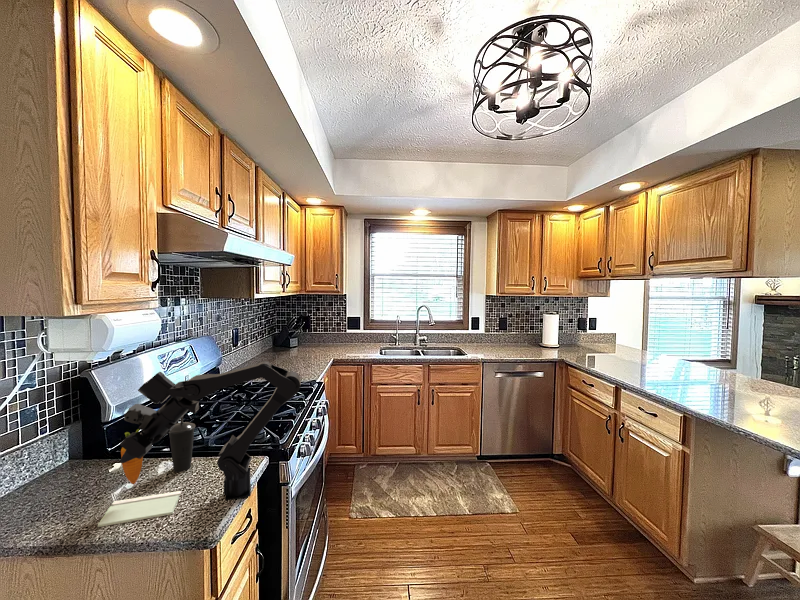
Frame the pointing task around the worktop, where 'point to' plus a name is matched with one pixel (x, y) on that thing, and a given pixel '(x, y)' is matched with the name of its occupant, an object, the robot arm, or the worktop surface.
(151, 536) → the worktop surface
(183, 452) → the drinking cup
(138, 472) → the carrot
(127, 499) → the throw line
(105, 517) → the mat
